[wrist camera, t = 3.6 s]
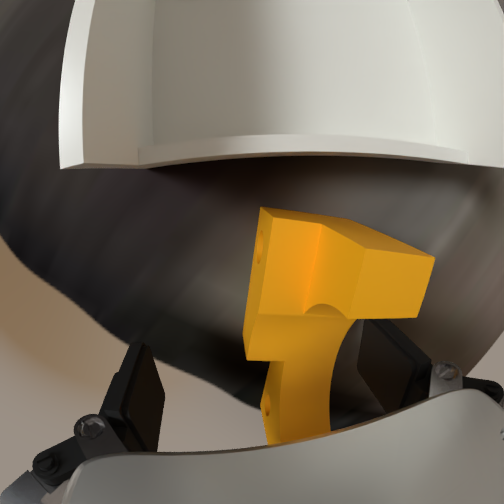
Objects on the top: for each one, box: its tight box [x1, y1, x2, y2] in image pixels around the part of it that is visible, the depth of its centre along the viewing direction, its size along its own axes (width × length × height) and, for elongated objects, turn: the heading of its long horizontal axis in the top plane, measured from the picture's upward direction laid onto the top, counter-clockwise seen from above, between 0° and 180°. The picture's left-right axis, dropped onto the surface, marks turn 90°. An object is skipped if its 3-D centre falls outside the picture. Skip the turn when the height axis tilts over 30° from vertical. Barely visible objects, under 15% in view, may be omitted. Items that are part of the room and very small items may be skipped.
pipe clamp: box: [243, 207, 435, 445], centre depth 11 cm, size 12×4×6 cm, turn 172°
